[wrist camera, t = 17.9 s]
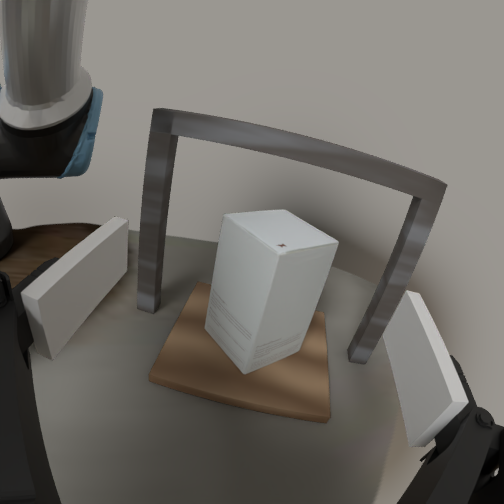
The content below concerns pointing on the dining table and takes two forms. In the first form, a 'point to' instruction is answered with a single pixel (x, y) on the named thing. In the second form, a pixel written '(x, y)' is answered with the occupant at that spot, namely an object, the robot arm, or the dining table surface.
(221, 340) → the supplement box
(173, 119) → the keeper arch
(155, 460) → the dining table surface
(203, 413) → the dining table surface
